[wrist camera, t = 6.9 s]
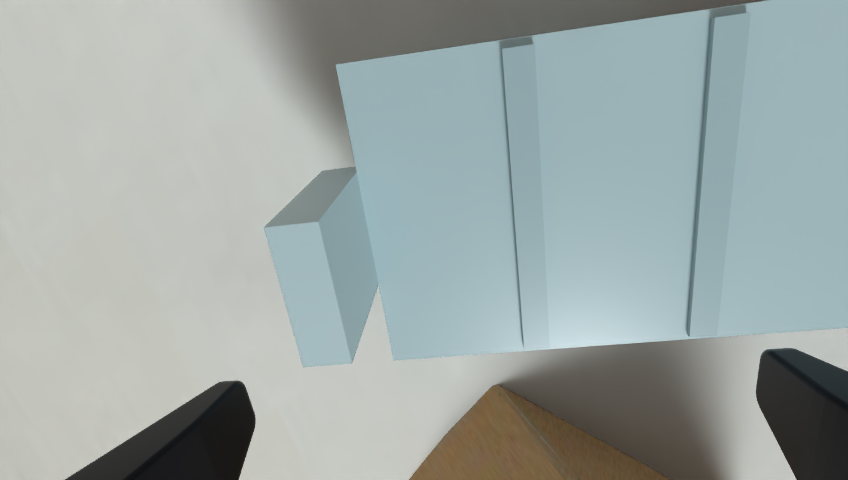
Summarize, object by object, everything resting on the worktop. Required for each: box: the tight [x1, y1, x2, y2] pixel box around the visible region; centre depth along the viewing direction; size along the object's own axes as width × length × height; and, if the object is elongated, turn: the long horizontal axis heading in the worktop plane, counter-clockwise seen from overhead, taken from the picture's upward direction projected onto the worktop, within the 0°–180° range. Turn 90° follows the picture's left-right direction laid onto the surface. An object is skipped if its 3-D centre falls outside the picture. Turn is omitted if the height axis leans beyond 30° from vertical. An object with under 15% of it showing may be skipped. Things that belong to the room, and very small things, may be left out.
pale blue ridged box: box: [264, 0, 848, 367], centre depth 12 cm, size 16×9×5 cm, turn 98°
